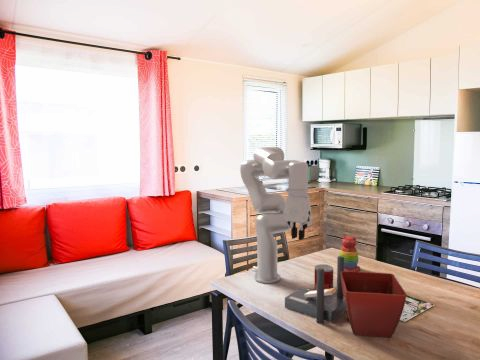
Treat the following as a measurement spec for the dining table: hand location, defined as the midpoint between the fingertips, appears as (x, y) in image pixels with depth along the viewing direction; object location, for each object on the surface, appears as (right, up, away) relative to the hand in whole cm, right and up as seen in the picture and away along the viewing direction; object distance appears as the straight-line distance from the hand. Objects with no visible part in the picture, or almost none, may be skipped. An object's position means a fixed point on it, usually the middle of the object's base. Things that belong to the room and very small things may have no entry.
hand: (297, 238), depth 148 cm
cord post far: (+17, -27, 0) cm, 32 cm away
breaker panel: (+7, -27, -2) cm, 28 cm away
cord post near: (+6, -29, -13) cm, 32 cm away
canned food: (+14, -26, +14) cm, 32 cm away
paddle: (+8, -21, -4) cm, 23 cm away
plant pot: (+23, -29, -17) cm, 41 cm away
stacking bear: (+32, -23, +39) cm, 55 cm away
